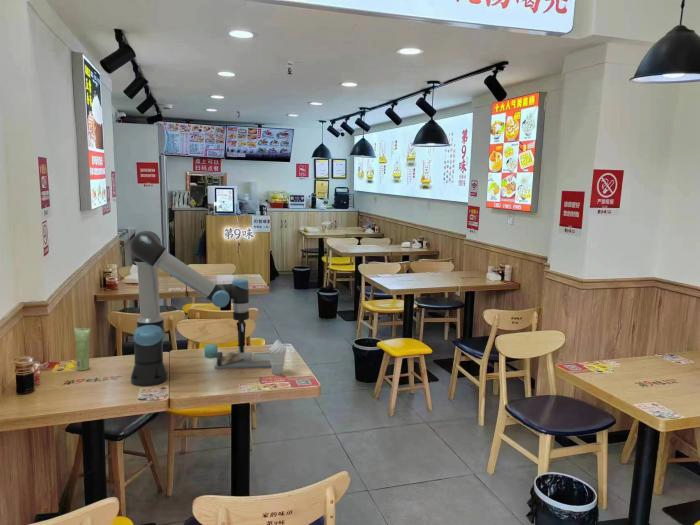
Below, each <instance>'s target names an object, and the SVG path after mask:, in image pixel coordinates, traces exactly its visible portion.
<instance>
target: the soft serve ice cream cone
mask: <svg viewBox="0 0 700 525" xmlns="http://www.w3.org/2000/svg"><path fill="white" fill-rule="evenodd" d="M282 343H283V342H281V341H280V340H279V339H276V340H275V341H274V342H273V344H272V345H271V346H270V347H269V349H268V351H267V352H269V354H270V363H271V368H270V369H271V372H272V375H275V376H279V375H282V373H283V369H284V365H285V357H286V353H287V348H286V346H285V345H283V344H282Z"/></svg>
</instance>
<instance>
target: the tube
mask: <svg viewBox="0 0 700 525" xmlns="http://www.w3.org/2000/svg"><path fill="white" fill-rule="evenodd" d="M73 331H74V338H75V340H74V341H75V350H76V369H77V371H87V370H89V369H90V336H91V328H86V327H85V328H82V327H74V330H73Z"/></svg>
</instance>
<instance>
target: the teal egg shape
mask: <svg viewBox="0 0 700 525" xmlns="http://www.w3.org/2000/svg"><path fill="white" fill-rule="evenodd" d="M218 348H219V347H218V344H216V343H208V344H204V358H206V359H214V358H217V353H218V350H219V349H218Z"/></svg>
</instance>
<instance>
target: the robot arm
mask: <svg viewBox="0 0 700 525" xmlns="http://www.w3.org/2000/svg"><path fill="white" fill-rule="evenodd" d="M129 248H130V251H131V253H132V257H133V258H132V259H133V263H134V264H136V266H137V267H136V268H137V280H138V281H137V282H138V285H137V286H138V301H139V303H138V304H139V317H138V318H137V319H136V329H135V330H133V343H134V344H133V346H134V347H133V350H134V354H133V355H134V366H133V368H132V372H131V374H130V383H131V385H135V386H138V387H139V386H141V387H149V386H155V385H159V384H163V383H164V382H166V381H167V380H168V371H167V368H166V365H165V364H164V353H163V352H164V350H163V349H164V348H163V347H164V346H163V345H164V340H165V337H166V329H165V323H164V321H165V320H164V316H161V309H160V292H159V291H160V288H159V287H160V286H159V285H160V284H159V269H160V270H162V271H163V272H165V273H166V274H168V275H169V276H170V277H173V278H174V279H176V280H177V281H179V282H180V283H182V284H184V285H185V286H186V287H188V288H189V289H191V290H192V291H195V292H196V293H197V294H200V296H202V297H204V298H205V299H207V301H209V302H211V303H212V304H213V305H214V306H215V307H217V308H225V307H226V306H227V305H228V304H229V302H230V300H231V301H232V311H233V312H232V319H233V320H234V321H237V322H236V328H237V330H236V331H237V343H238V344H237V347H238V351H239V359H245V353H246V352H245V351H246V350H245V345H246V326H247V324H246V322H245V321H248V320H249V319H250V312H249V308H250V306H251V303H250V301H249V300H250V297H249V296H250V295H249V294H250V292H249V291H250V290H249V289H250V287H249V281H248V279H246V278H236V279H232V283H223V284H222V283H219V284H218V283H217V284H216V283H215V282H213V281H212V280H210V279H209V278H207V277H206V276H204V275H202V273H199V271H196V270H195V269H194V268H192V267H190V266H189V265H187V264H186V263H185V262H182V260H180V259H179V258H177V257H175V255H172V254H171V253H170V252H168V249H167V247H165V246H163V245H162V241H161V238H160V236H159V235H158V234H156V233H155V232H153V231H151V230H150V231H149V230H143V231H140V232H138V233H137V234H136V235H134V236H133V237H132V239H131V241H130V244H129Z"/></svg>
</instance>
